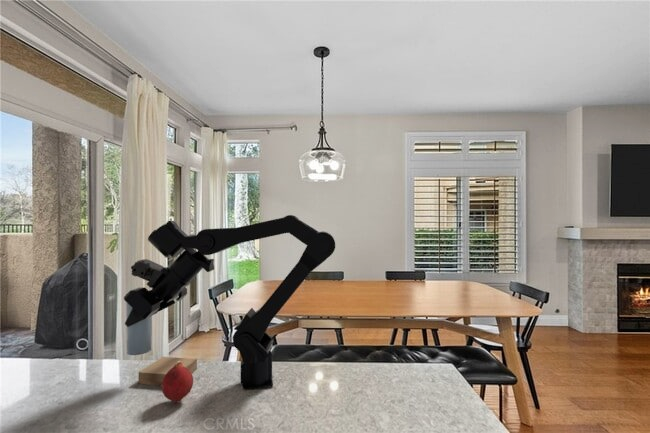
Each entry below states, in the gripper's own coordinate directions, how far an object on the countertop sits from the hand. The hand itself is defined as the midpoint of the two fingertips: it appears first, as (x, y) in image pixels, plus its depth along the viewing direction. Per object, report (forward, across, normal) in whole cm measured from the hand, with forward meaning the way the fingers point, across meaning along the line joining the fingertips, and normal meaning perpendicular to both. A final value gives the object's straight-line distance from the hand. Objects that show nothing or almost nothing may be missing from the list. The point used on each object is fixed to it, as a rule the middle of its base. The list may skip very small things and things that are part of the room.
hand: (133, 321), depth 79 cm
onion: (0, +9, +20) cm, 21 cm away
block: (+5, -3, +14) cm, 15 cm away
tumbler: (+4, 0, +6) cm, 7 cm away
